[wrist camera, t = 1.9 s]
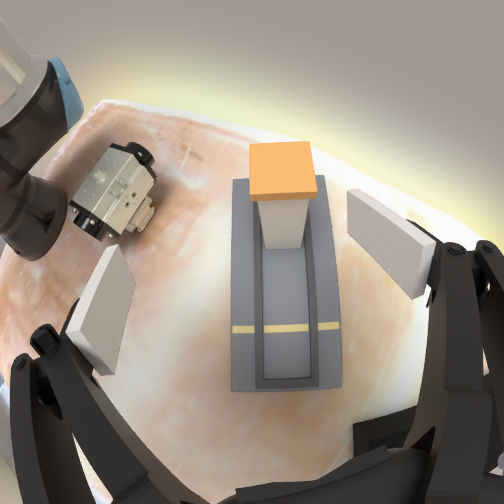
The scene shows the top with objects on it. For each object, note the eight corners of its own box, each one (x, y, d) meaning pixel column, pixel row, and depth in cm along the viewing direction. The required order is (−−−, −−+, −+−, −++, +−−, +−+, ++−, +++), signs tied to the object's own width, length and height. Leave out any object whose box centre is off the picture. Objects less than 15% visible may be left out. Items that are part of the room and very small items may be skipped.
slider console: (340, 385, 26) (344, 388, 25) (232, 389, 28) (229, 393, 26) (323, 179, 35) (324, 170, 33) (234, 183, 36) (231, 175, 34)
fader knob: (304, 251, 31) (317, 191, 19) (262, 253, 31) (249, 194, 19) (300, 213, 32) (309, 141, 20) (261, 215, 33) (249, 144, 21)
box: (499, 366, 23) (528, 365, 17) (494, 442, 19) (518, 449, 13) (352, 423, 25) (368, 440, 19) (351, 505, 21) (363, 530, 14)
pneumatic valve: (109, 246, 35) (56, 210, 24) (152, 180, 38) (115, 128, 27) (135, 263, 34) (80, 228, 22) (180, 191, 37) (145, 135, 25)
